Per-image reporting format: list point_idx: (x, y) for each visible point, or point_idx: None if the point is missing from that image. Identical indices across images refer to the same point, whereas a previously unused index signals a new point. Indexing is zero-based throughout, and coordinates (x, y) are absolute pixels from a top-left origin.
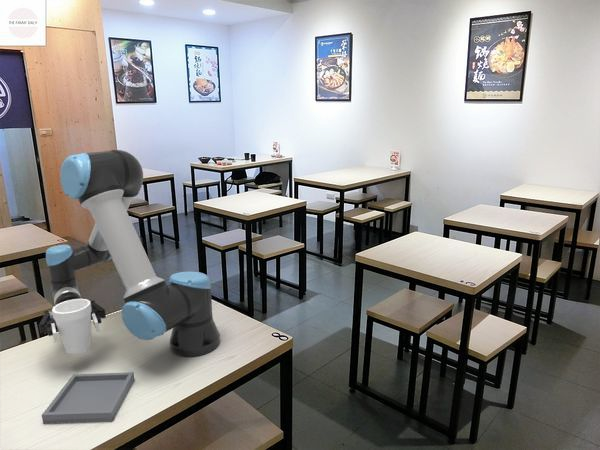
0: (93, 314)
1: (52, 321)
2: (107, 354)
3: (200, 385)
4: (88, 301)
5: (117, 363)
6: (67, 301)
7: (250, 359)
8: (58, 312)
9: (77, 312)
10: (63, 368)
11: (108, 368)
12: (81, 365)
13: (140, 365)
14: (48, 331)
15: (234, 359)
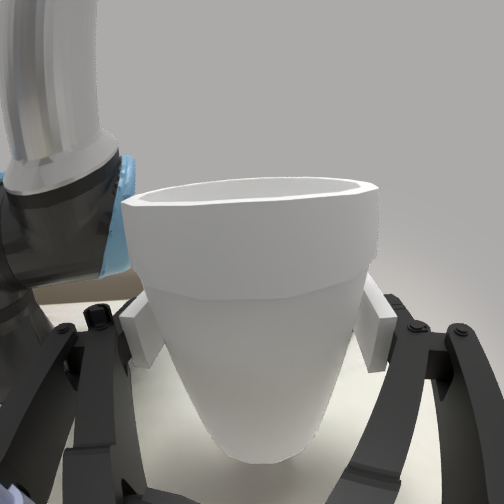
0: (132, 309)
1: (402, 346)
2: (159, 489)
3: (123, 302)
4: (141, 194)
5: (165, 424)
6: (258, 198)
7: (47, 305)
8: (327, 178)
9: (241, 186)
10: (329, 491)
11: (197, 418)
12: (264, 480)
13: (133, 383)
14: (391, 294)
15: (51, 313)
